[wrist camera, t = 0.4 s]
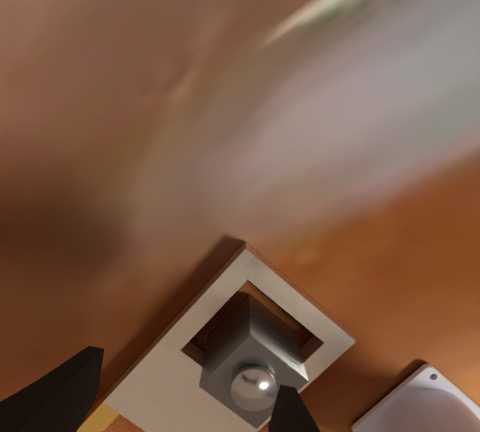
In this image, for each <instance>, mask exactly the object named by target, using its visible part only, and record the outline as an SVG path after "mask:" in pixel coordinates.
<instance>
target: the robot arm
mask: <svg viewBox="0 0 480 432" xmlns="http://www.w3.org/2000/svg"><path fill="white" fill-rule="evenodd" d="M103 353H104V349H102V348H97V347H92V346H88V347H86V348H85V349H83V350H82V351H80V352H79V353H77V354H76V355H75V356H73V357H72V358H70V359H69V360H67V361H66V362H64V363H63V364H61V365H60V366H59V367H57V368H55V369H54V370H52V371H51V372H49V373H48V374H46V375H45V376H43V377H42V378H40V379H39V380H37V381H35V382H34V383H32V384H30V385H29V386H27V387H25V388H24V389H22V390H20V391H19V392H17V393H15V394H14V395H12V396H10V397H8V398H7V399H5V400H3V401H1V402H0V432H77V430H78V429H79V427H80V426H81V424H82V422H83V421H84V419H85V417H86V415H87V413H88V411H89V410H90V408H91V406H92V404H93V401H94V399H95V397H96V395H97V393H98V389H99V382H100V374H101V367H102V360H103ZM432 374H433V375H432ZM431 375H432V376H431ZM351 430H352V432H480V407H479V406H478V405H477V404H475V403H474V402H473V401H472V400H471V399H470V398H469V397H467V396H466V395H465V394H464V393H463V392H462V391H461V390H459V389H458V388H457V387H456V386H455V385H454V384H452V383H451V382H450V381H449V380H448V379H447V378H446V377H444V376H443V375H442V374H441V373H440V372H439V371H438V370H436V369H435V368H434V367H433V366H432V365H430V364H424V365H422V366H421V367H420V368H419V369H418V370H416V371H415V372H414V373H413V374H412V375H410V376H409V377H408V378H407V379H406V380H405V381H403V382H402V383H401V384H400V385H399V386H398V387H396V388H395V389H394V390H393V391H392V392H391V393H389V394H388V395H387V396H386V397H385V398H384V399H382V400H381V401H380V402H379V403H378V404H377V405H375V406H374V407H373V408H372V409H371V410H370V411H368V412H367V413H366V414H365V415H364V416H363V417H361V418H360V419H359V420H358V421H357V422H355V423H354V424H353V425H352V427H351ZM269 432H320V430H319V428H318V427H317V425H316V423H315V422H314V420H313V418H312V416H311V415H310V413H309V411H308V409H307V408H306V406H305V404H304V402H303V400H302V399H301V397H300V395H299V393H298V392H297V390H296V388H295V387H290V386H285V385H280V388H279V391H278V395H277V398H276V402H275V405H274V409H273V412H272V416H271V419H270V423H269Z"/></svg>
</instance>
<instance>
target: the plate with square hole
mask: <svg viewBox="0 0 480 432" xmlns="http://www.w3.org/2000/svg"><path fill="white" fill-rule="evenodd" d="M247 280H249V281H250V282H251V283H253V284H254V285H255V286H256V287H257V288H259V289H260V290H261V291H262V292H263V293H265V294H266V295H267V296H268V297H269V298H271V299H272V300H273V301H274V302H276V303H277V304H278V305H279V306H280V307H282V308H283V309H284V310H285V311H286V312H288V313H289V314H290V315H291V316H292V317H294V318H295V319H296V320H297V321H299V322H300V323H301V324H302V325H303V326H305V327H306V328H307V329H308V330H309V331H311V332H312V333H313V334H314V336H313V337H312V338H311V339H310V340H309V341H308V342H307V343H306V344H305V345H303V346H302V347H301V348H300V351H301V355H302V358H303V362H304V366H305V369H306V373H307V376H308V380H309V382H307V383H306V384H305V385H304V386H303V387H302V388H301V389H300V390H299V391H298V393H300V392H301V391H303V390H304V389H305V388H306V387H307V386H308V385H309V384H310V383H311V382H312V381H313V380H315V379H316V378H317V377H318V376H319V375H320V374H321V373H322V372H323V371H324V370H325V369H327V368H328V367H329V366H330V365H331V364H332V363H333V362H334V361H335V360H336V359H337V358H339V357H340V356H341V355H342V354H343V353H344V352H345V351H346V350H347V349H348V348H349V347H351V346H352V345H353V344H354V343H355V342H356V341H355V339H354V337H353V335H352V334H351V332H350V330H349V329H348V328H347V327H346V326H345V325H344V324H342V323H341V322H340V321H339V320H338V319H337V318H335V317H334V316H333V315H332V314H331V313H329V312H328V311H327V310H326V309H325V308H324V307H322V306H321V305H320V304H319V303H318V302H316V301H315V300H314V299H313V298H312V297H311V296H309V295H308V294H307V293H306V292H305V291H303V290H302V289H301V288H300V287H299V286H298V285H296V284H295V283H294V282H293V281H292V280H290V279H289V278H288V277H287V276H286V275H285V274H283V273H282V272H281V271H280V270H279V269H278V268H276V267H275V266H274V265H273V264H272V263H270V262H269V261H268V260H267V259H266V258H265V257H263V256H262V255H261V254H260V253H259V252H257V251H256V250H255V249H254V248H253V247H252V246H250V245H249V244H248V243H247V242H245V243H244V244H243V245H242V246H241V247H240V248H239V249H238V250H237V251H236V252H235V253H234V255H233V256H232V257H231V258H230V259H229V260H228V261H227V262H226V263H225V264H224V265H223V266H222V268H221V269H220V270H219V271H218V272H217V273H216V274H215V275H214V276H213V277H212V278H211V279H210V281H209V282H208V283H207V284H206V285H205V286H204V287H203V288H202V289H201V290H200V291H199V292H198V294H197V295H196V296H195V297H194V298H193V299H192V300H191V301H190V302H189V303H188V304H187V305H186V306H185V308H184V309H183V310H182V311H181V312H180V313H179V314H178V315H177V316H176V317H175V318H174V319H173V321H172V322H171V323H170V324H169V325H168V326H167V327H166V328H165V329H164V330H163V331H162V332H161V334H160V335H159V336H158V337H157V338H156V339H155V340H154V341H153V342H152V343H151V344H150V345H149V347H148V348H147V349H146V350H145V351H144V352H143V353H142V354H141V355H140V356H139V357H138V358H137V360H136V361H135V362H134V363H133V364H132V365H131V366H130V367H129V368H128V369H127V370H126V371H125V372H124V374H123V375H122V376H121V377H120V378H119V379H118V380H117V381H116V382H115V383H114V384H113V385H112V387H111V388H110V389H109V390H108V391H107V392H106V393H105V394H104V395H103V396H102V397H101V398H100V400H99V401H98V402H97V403H96V404H95V405H94V406H93V407H92V408H91V409H90V410H89V411H88V413H87V415H86V417H85V419H84V421H83V422H82V424H81V426H80V427H79V429H78V430H77V432H103V431H104V430H105V429H106V428H107V427H108V426H109V425H110V424H111V422H112V421H113V420H114V419H115V418H116V417H117V416H118V415H119V414H121V415H122V416H124V417H125V418H126V419H128V420H129V421H131V422H132V423H134V424H135V425H137V426H138V427H139V428H141V429H142V430H144V431H145V432H258V431H259V430H260V429H261V428H262V427H263V426H264V425H265V424H266V423H268V422H269V421H270V419H271V416H272V415H271V416H270V417H269V418H268V419H267V420H266V421H265V422H264V423H263V424H262V425H261V426H259V427H258V428H257V429H256V428H254V427H253V426H252V425H250V424H249V423H247V422H246V421H245V420H243V419H242V418H241V417H239V416H238V415H237V414H235V413H234V412H233V411H231V410H230V409H229V408H227V407H226V406H225V405H223V404H222V403H220V402H219V401H218V400H216V399H215V398H214V397H212V396H211V395H210V394H208V393H207V392H206V391H204V390H203V389H202V388H200V387H199V383H200V377H201V372H202V367H203V361H204V356H205V353H204V352H203V351H201V350H200V349H199V348H197V347H196V346H195V345H194V344H192V343H191V342H190V340H191V339H192V338H193V336H194V335H195V334H196V333H197V332H198V331H199V330H200V329H201V328H202V327H203V326H204V325H205V324H206V323H207V322H208V321H209V320H210V319H211V318H212V317H213V316H214V314H215V313H216V312H217V311H218V310H219V309H220V308H221V307H222V306H223V305H224V304H225V303H226V302H227V301H228V300H229V299H230V298H231V297H232V296H233V295H234V294H235V292H236V291H237V290H238V289H239V288H240V287H241V286H242V285H243V284H244V283H245V282H246V281H247Z"/></svg>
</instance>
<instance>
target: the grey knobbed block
mask: <svg viewBox="0 0 480 432" xmlns="http://www.w3.org/2000/svg"><path fill="white" fill-rule="evenodd" d="M307 382H309V380H308V376H307V373H306V369H305V366H304V362H303V358H302V355H301V351H300V348H299V344H298V340H297V337H296V333H295V331H294V330H293V329H292V328H290V327H289V326H288V325H287V324H285V323H284V322H283V321H282V320H281V319H279V318H278V317H277V316H276V315H274V314H273V313H272V312H271V311H270V310H268V309H267V308H266V307H265V306H263V305H262V304H261V303H260V302H259V301H257V300H256V299H255V298H254V297H252V296H251V295H250V294H248V295H247V296H246V297H245V298H244V299H243V300H242V301H241V302H240V303H239V304H238V305H237V306H236V307H235V308H234V310H233V311H232V312H231V313H230V314H229V315H228V316H227V317H226V318H225V319H224V320H223V321H222V322H221V323H220V324H219V325H218V326H217V327H216V328H215V329H214V330H213V331H212V332H211V333H210V334H209V335H208V340H207V345H206V350H205V356H204V361H203V367H202V372H201V377H200V383H199V387H200V388H202V389H203V390H204V391H206V392H207V393H208V394H210V395H211V396H212V397H214V398H215V399H216V400H218V401H219V402H220V403H222V404H223V405H225V406H226V407H227V408H229V409H230V410H231V411H233V412H234V413H235V414H237V415H238V416H239V417H241V418H242V419H243V420H245V421H246V422H247V423H249V424H250V425H252V426H253V427H254V428H256V429H257V428H258V427H259V426H261V425H262V424H263V423H264V422H265V421H266V420H267V419H268V418H269V417H270V416H271V415H272V412H273V409H274V405H275V402H276V398H277V395H278V391H279V388H280V385H285V386H290V387H295V388H296V390H297V392H298V391H299V390H300V389H301V388H302V387H303V386H304V385H305V384H306V383H307Z"/></svg>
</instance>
